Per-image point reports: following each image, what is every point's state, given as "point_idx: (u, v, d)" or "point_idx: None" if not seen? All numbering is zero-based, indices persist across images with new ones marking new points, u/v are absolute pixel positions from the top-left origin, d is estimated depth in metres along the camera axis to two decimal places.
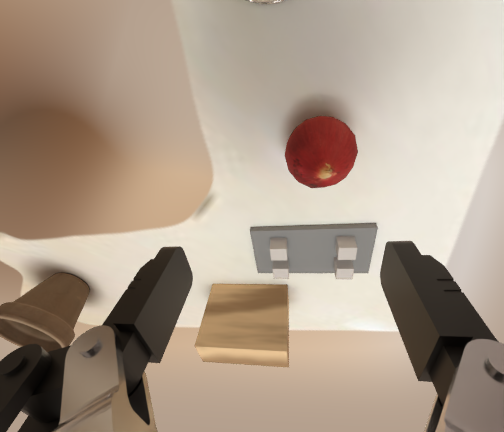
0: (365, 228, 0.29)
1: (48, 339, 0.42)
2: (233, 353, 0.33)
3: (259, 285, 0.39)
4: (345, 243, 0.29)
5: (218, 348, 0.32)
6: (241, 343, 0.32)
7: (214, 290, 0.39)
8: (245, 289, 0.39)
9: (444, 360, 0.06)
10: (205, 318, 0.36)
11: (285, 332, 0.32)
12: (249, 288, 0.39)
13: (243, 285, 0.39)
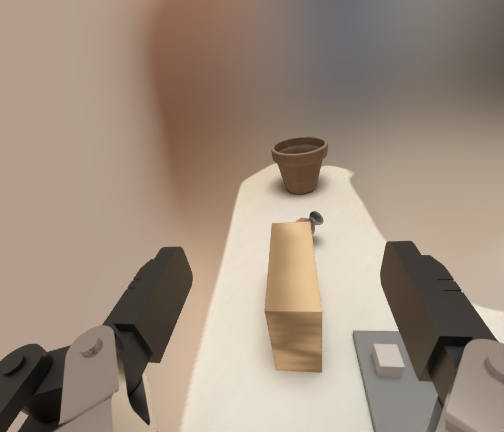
0: None
1: None
2: (299, 250, 0.25)
3: None
4: None
5: (311, 239, 0.26)
6: None
7: None
8: None
9: (444, 360, 0.06)
10: None
11: (321, 327, 0.21)
12: None
13: None
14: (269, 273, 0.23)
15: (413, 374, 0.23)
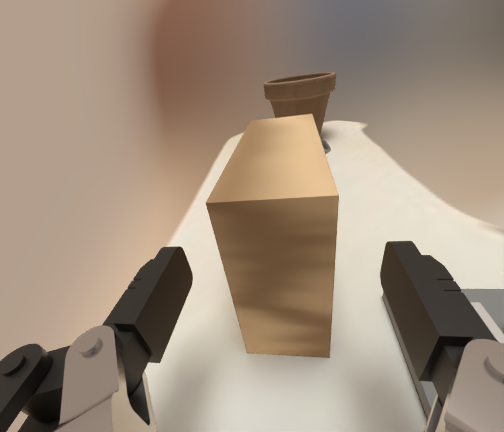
0: None
1: None
2: (291, 136, 0.14)
3: None
4: None
5: (313, 125, 0.15)
6: None
7: None
8: None
9: (444, 360, 0.06)
10: None
11: None
12: None
13: None
14: (232, 160, 0.12)
15: None
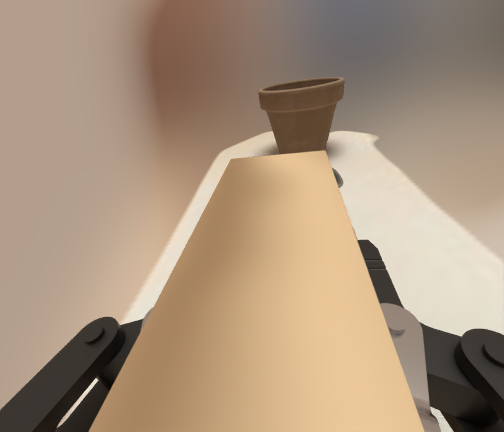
0: None
1: None
2: (295, 210, 0.08)
3: None
4: None
5: (333, 182, 0.09)
6: None
7: None
8: None
9: None
10: None
11: None
12: None
13: None
14: (171, 285, 0.06)
15: None
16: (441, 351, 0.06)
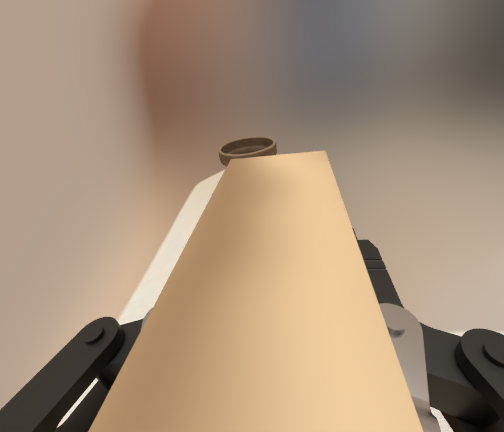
0: None
1: None
2: (295, 210, 0.08)
3: None
4: None
5: (333, 182, 0.09)
6: None
7: None
8: None
9: None
10: None
11: None
12: None
13: None
14: (170, 286, 0.06)
15: None
16: (441, 351, 0.06)
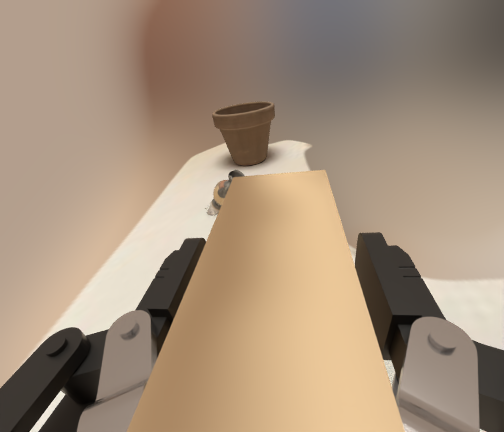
0: None
1: None
2: (297, 236, 0.08)
3: None
4: None
5: (332, 206, 0.09)
6: None
7: None
8: None
9: (398, 337, 0.06)
10: None
11: None
12: None
13: None
14: (180, 317, 0.06)
15: None
16: (496, 370, 0.05)
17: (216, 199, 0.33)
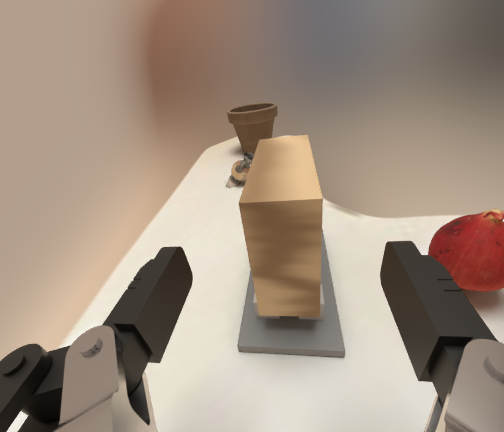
0: (340, 333, 0.19)
1: None
2: (292, 155, 0.19)
3: None
4: None
5: (308, 146, 0.20)
6: None
7: None
8: None
9: (444, 360, 0.06)
10: None
11: (321, 232, 0.14)
12: None
13: None
14: (250, 173, 0.17)
15: None
16: None
17: (234, 174, 0.44)
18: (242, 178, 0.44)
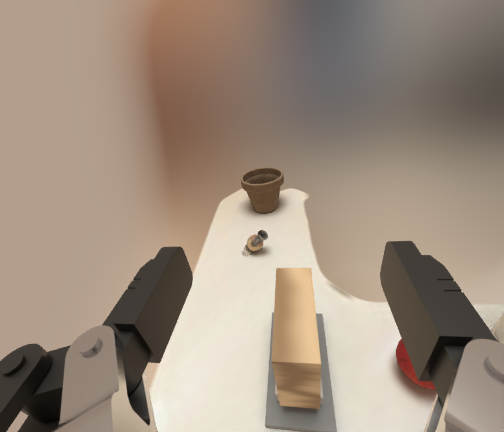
0: (333, 417, 0.29)
1: (246, 181, 0.69)
2: (301, 299, 0.29)
3: None
4: (322, 389, 0.30)
5: (312, 287, 0.30)
6: None
7: None
8: None
9: (444, 360, 0.06)
10: None
11: (320, 374, 0.24)
12: None
13: None
14: (275, 322, 0.27)
15: None
16: None
17: (249, 247, 0.54)
18: (256, 250, 0.54)
